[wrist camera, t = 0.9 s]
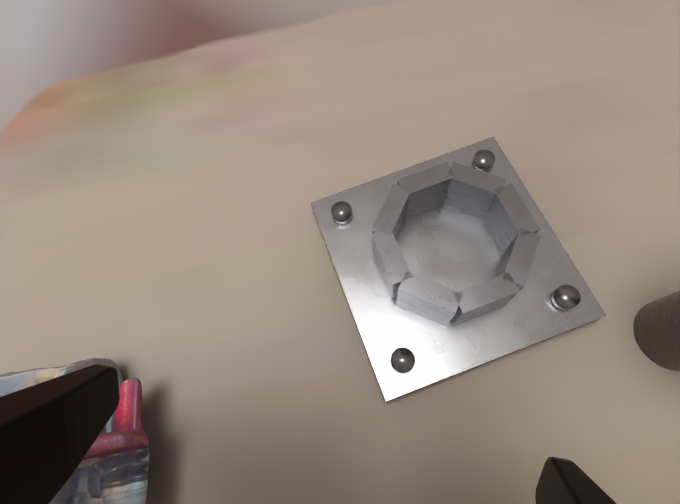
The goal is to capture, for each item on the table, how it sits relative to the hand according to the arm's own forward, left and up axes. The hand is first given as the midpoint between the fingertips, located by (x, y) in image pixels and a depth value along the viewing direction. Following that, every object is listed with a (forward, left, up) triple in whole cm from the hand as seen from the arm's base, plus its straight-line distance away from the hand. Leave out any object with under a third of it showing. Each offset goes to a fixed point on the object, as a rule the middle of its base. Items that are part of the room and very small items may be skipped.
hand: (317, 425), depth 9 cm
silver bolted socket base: (+6, -8, -14) cm, 17 cm away
